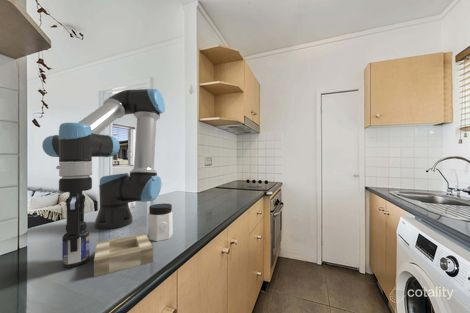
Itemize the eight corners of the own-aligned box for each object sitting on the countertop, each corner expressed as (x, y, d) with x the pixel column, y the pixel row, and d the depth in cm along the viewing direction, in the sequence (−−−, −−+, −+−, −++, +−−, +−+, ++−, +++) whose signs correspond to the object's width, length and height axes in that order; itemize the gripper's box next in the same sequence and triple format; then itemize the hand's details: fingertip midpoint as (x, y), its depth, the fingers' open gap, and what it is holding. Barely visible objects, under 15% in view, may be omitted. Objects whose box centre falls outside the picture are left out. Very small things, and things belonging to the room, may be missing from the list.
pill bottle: (91, 261, 59) (91, 223, 59) (64, 270, 54) (64, 229, 54) (86, 255, 63) (86, 219, 63) (60, 262, 58) (60, 224, 58)
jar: (150, 243, 72) (150, 209, 72) (146, 236, 79) (146, 205, 79) (175, 237, 77) (175, 205, 77) (169, 231, 84) (169, 202, 84)
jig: (97, 252, 65) (97, 239, 65) (144, 242, 73) (144, 231, 73) (93, 276, 51) (93, 260, 51) (152, 261, 59) (152, 247, 59)
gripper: (65, 175, 65) (65, 248, 65) (50, 180, 48) (50, 277, 48) (94, 174, 69) (94, 242, 68) (88, 178, 52) (89, 268, 52)
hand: (76, 257), depth 58 cm, fingers closed on pill bottle, 6 cm apart
